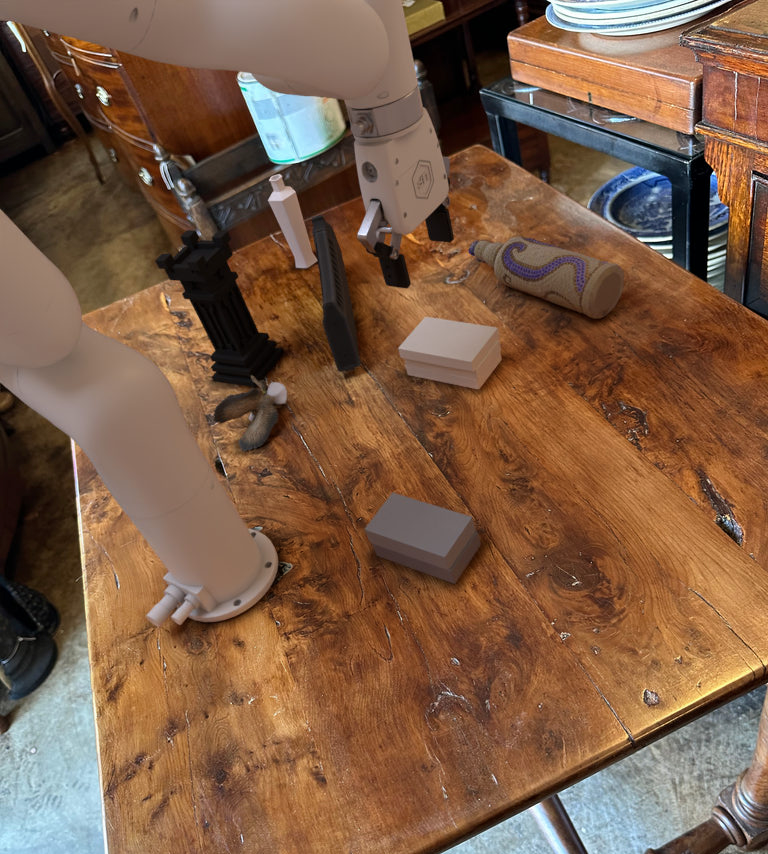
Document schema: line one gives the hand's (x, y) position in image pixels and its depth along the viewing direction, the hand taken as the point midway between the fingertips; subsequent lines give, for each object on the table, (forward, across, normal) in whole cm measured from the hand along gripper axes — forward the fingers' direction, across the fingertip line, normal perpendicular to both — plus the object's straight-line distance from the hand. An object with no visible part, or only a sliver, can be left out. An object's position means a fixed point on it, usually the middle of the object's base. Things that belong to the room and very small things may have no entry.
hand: (420, 262), depth 92 cm
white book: (+13, +2, 0) cm, 13 cm away
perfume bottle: (+16, +20, +40) cm, 47 cm away
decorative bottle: (+16, +21, -4) cm, 27 cm away
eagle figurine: (+17, -16, +20) cm, 31 cm away
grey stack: (+17, -26, -13) cm, 34 cm away
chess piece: (+17, -6, +31) cm, 36 cm away
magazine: (+17, +8, +23) cm, 29 cm away
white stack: (+16, +2, 0) cm, 16 cm away
